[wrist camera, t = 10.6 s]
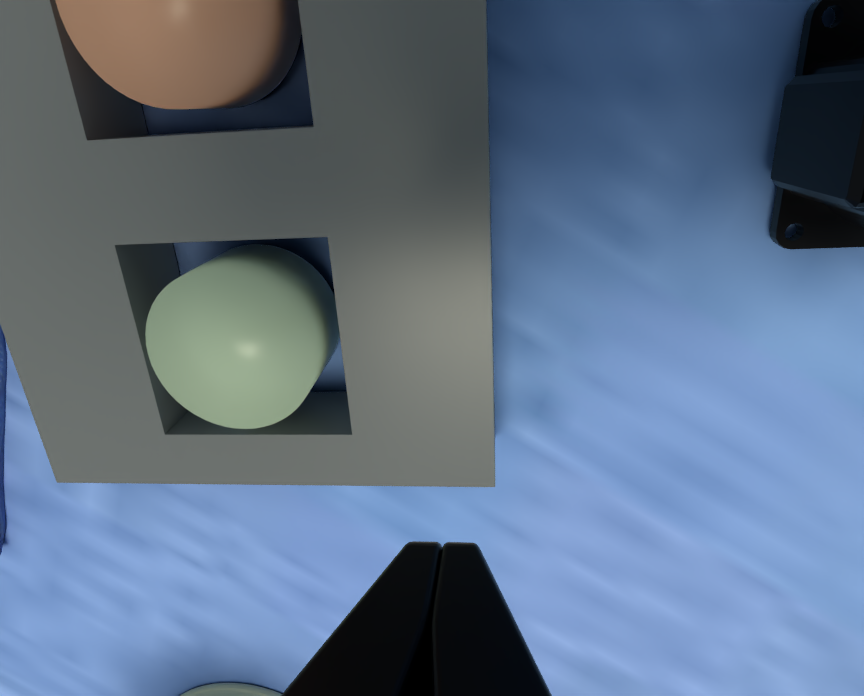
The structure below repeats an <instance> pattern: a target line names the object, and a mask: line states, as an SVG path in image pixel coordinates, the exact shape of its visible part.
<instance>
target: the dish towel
mask: <svg viewBox="0 0 864 696" xmlns="http://www.w3.org/2000/svg"><path fill="white" fill-rule="evenodd" d="M6 377H7V351H6V343H5V336H4V333H3V330H2V328H1V325H0V554H1V552H2V545H3V539H4V533H5V527H6V518H5V501H4V488H3V463H4V435H5V400H6Z"/></svg>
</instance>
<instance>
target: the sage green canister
mask: <svg viewBox="0 0 864 696" xmlns="http://www.w3.org/2000/svg"><path fill="white" fill-rule="evenodd" d="M281 695H282V694H281V693H278V692H275V691H273V690H270V689H266V688H263V687H259V686H255V685H249V684H242V683H215V684H209V685H204V686H200V687H197V688H194V689H191V690H189V691H187V692H185V693H184V694H182V695H180V696H281Z"/></svg>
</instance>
